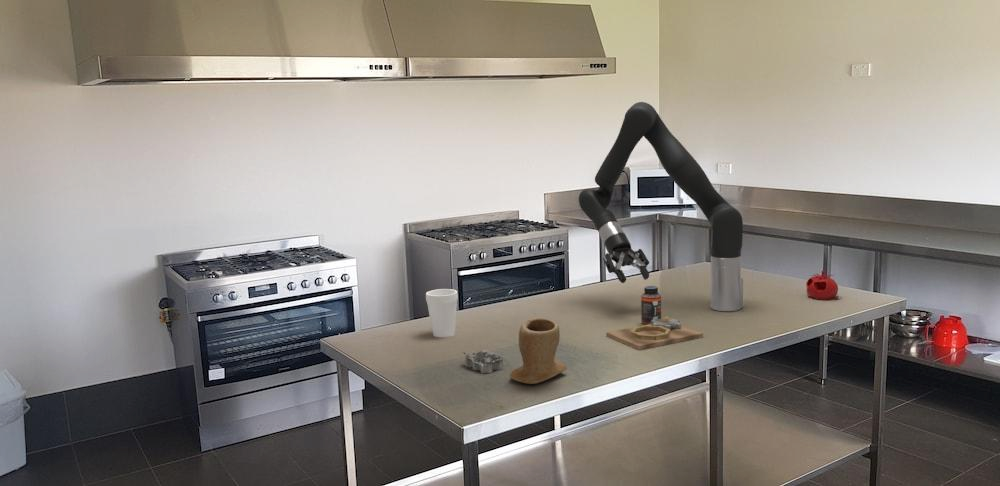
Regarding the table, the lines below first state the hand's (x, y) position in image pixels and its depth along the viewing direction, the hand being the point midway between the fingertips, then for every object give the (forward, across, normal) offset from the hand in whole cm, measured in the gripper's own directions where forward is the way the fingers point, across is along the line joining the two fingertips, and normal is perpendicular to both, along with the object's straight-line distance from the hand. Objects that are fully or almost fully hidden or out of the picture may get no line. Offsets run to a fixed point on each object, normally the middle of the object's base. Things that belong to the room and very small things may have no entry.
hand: (635, 279), depth 242 cm
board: (+23, -8, -5) cm, 25 cm away
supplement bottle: (+14, 0, +3) cm, 15 cm away
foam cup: (-3, -58, +21) cm, 62 cm away
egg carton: (+21, -60, -3) cm, 64 cm away
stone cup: (+32, -52, -14) cm, 63 cm away
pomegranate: (+18, +65, -1) cm, 68 cm away
